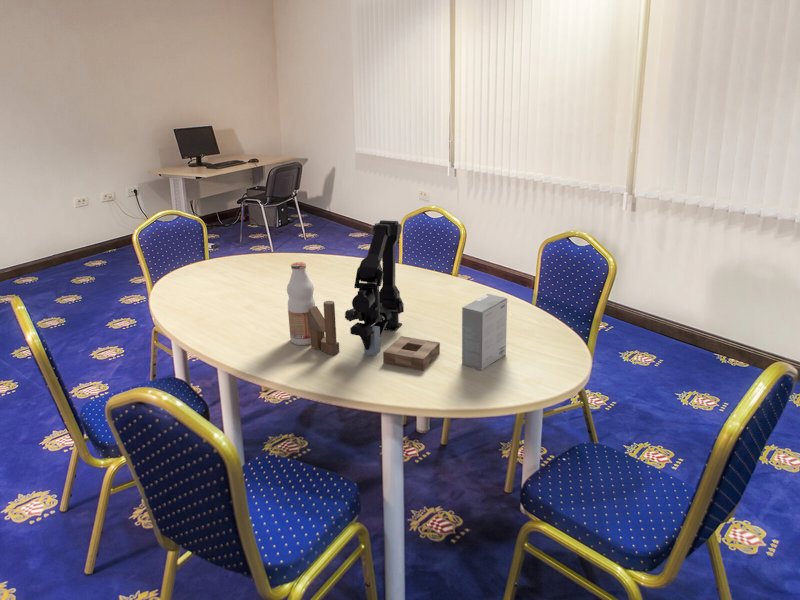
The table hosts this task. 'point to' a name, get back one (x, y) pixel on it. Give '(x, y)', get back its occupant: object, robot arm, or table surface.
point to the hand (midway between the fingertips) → (372, 345)
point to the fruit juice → (300, 304)
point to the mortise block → (411, 353)
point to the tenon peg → (374, 342)
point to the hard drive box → (484, 331)
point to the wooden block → (323, 328)
